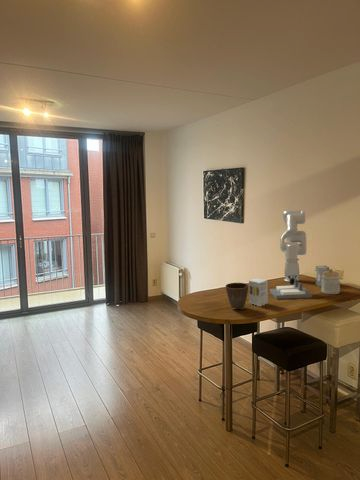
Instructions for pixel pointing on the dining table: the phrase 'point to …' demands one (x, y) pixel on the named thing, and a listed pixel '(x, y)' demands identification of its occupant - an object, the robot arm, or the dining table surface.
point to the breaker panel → (277, 294)
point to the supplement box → (258, 292)
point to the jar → (330, 282)
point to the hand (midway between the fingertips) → (292, 284)
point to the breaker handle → (299, 286)
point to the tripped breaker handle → (295, 282)
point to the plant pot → (237, 294)
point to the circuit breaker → (320, 274)
